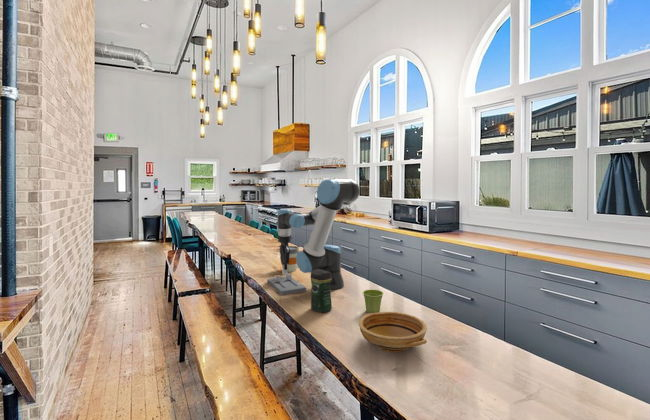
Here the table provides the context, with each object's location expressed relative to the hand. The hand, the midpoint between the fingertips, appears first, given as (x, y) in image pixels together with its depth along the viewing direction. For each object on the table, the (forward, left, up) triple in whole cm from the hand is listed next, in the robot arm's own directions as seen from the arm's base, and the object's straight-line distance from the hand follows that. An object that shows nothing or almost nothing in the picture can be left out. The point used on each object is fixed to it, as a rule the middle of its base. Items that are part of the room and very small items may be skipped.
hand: (285, 274), depth 214 cm
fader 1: (-3, +10, -1) cm, 10 cm away
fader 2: (-6, +3, -1) cm, 7 cm away
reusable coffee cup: (+14, -20, -4) cm, 25 cm away
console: (-8, +9, -4) cm, 13 cm away
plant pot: (-66, +16, -4) cm, 68 cm away
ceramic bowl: (-87, +42, -4) cm, 97 cm away
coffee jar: (-45, +27, -4) cm, 53 cm away
